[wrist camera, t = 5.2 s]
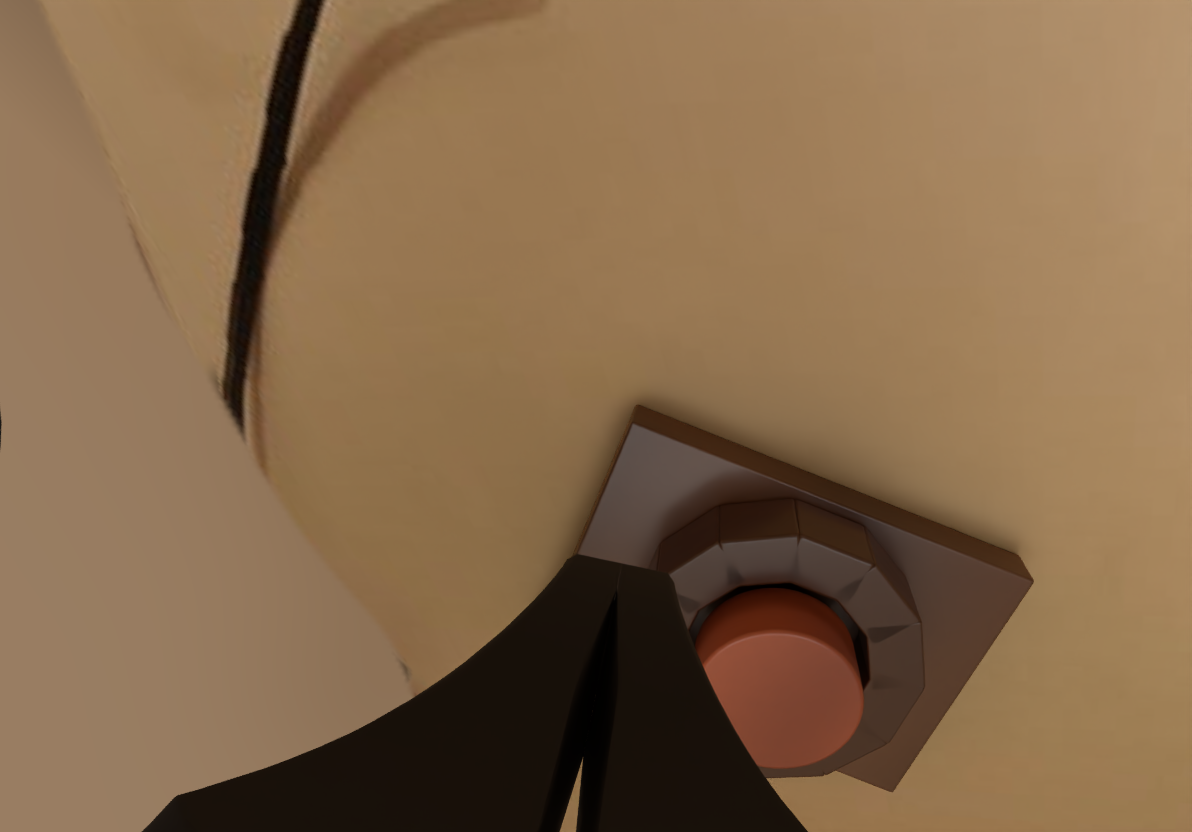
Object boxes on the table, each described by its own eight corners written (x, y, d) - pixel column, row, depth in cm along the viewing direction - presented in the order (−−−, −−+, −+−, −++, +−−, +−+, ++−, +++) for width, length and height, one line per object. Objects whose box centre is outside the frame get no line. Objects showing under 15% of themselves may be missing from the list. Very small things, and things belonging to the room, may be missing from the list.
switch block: (542, 626, 25) (519, 698, 22) (636, 403, 22) (623, 453, 19) (885, 761, 25) (905, 849, 22) (1020, 555, 22) (1062, 626, 19)
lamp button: (671, 683, 22) (666, 733, 20) (732, 562, 20) (733, 606, 19) (811, 738, 22) (818, 793, 20) (882, 621, 20) (895, 670, 19)
